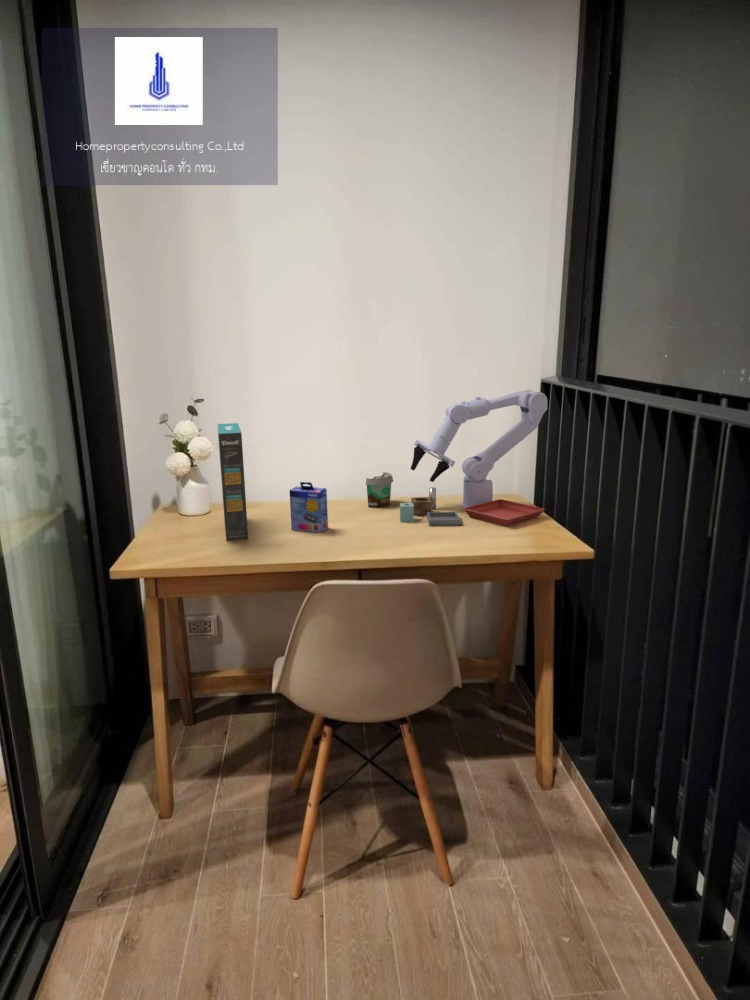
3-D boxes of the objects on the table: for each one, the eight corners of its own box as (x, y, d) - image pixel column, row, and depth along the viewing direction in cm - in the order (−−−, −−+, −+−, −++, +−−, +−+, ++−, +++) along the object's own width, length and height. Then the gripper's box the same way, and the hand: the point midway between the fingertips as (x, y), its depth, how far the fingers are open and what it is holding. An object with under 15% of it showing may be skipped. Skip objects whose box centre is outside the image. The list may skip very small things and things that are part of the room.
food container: (382, 510, 207) (381, 480, 205) (365, 508, 210) (365, 478, 208) (399, 502, 218) (399, 473, 215) (384, 500, 221) (383, 471, 218)
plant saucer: (461, 517, 199) (461, 507, 198) (500, 508, 210) (500, 498, 209) (507, 530, 185) (507, 519, 184) (545, 519, 196) (546, 508, 195)
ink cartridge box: (290, 530, 187) (287, 482, 183) (298, 525, 192) (296, 478, 188) (321, 533, 184) (319, 483, 180) (328, 527, 189) (327, 479, 185)
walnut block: (429, 510, 206) (430, 497, 205) (431, 515, 200) (431, 501, 199) (411, 510, 206) (411, 497, 205) (412, 515, 200) (412, 501, 199)
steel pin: (435, 508, 209) (435, 487, 207) (436, 509, 207) (436, 488, 205) (428, 508, 209) (428, 487, 207) (429, 510, 207) (429, 489, 205)
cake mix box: (224, 520, 198) (217, 423, 191) (244, 518, 200) (237, 423, 193) (226, 540, 178) (218, 433, 171) (248, 538, 179) (241, 432, 172)
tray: (456, 517, 198) (456, 511, 197) (460, 525, 189) (460, 519, 188) (426, 517, 198) (427, 512, 197) (429, 526, 189) (429, 520, 189)
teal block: (412, 518, 197) (412, 502, 196) (413, 522, 193) (413, 506, 192) (399, 518, 197) (399, 502, 196) (400, 522, 193) (400, 506, 192)
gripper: (420, 426, 203) (399, 463, 205) (458, 447, 197) (436, 485, 199) (427, 429, 209) (407, 465, 211) (464, 450, 204) (442, 487, 206)
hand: (421, 475), depth 206 cm, fingers open, 7 cm apart
